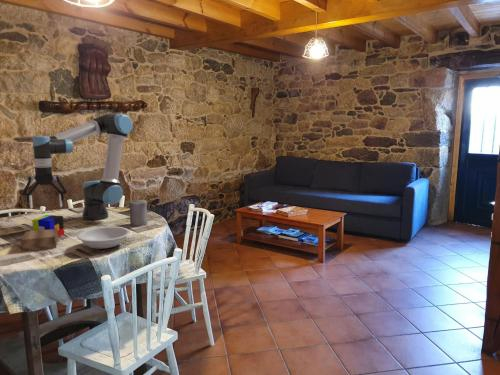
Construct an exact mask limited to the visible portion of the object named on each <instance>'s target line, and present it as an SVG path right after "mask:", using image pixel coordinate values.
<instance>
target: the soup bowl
mask: <svg viewBox="0 0 500 375" xmlns="http://www.w3.org/2000/svg"><path fill="white" fill-rule="evenodd" d="M130 233H131V230H130V229H128V228H127V227H122V226H101V227H99V226H98V227H93V228H89V229H86V230H83V231H80V232H79V233H78V234H76V235H77V236H76V239H77V240H79V241H81V242H82V243H83V244H84V245H85V246H86V247H88V248H92V249H95V250H96V249H98V250H99V249H101V250H102V249H103V250H104V249H109V248H114V247H117V246H119V245H120V244H122V243H123V242H124V241H125V239H126V238H127V236H129V235H130Z"/></svg>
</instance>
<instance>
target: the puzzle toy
mask: <svg viewBox="0 0 500 375" xmlns="http://www.w3.org/2000/svg"><path fill="white" fill-rule="evenodd" d="M31 221H32V229H33V230H32V231H38V230H49V229H57V233H58V238H59V237H60V236H63V235H65V226H64V225H65V224H64V216H63V215H55V214H54V215H53V214H45V215H42V216H38V217H36V218H33V219H31Z"/></svg>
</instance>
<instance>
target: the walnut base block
mask: <svg viewBox="0 0 500 375" xmlns="http://www.w3.org/2000/svg"><path fill="white" fill-rule="evenodd" d="M20 241H21V242H20V243H21V251H22V253H23V251H24V252H32V250H33V251H40V250H49V249H57V246H58V241H59V237H58V233H57V229H49V230H38V231H33V230H29V231H28V230H27V231H25V232H24V234H23V236H22V237H21V239H20Z"/></svg>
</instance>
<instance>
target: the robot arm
mask: <svg viewBox="0 0 500 375" xmlns="http://www.w3.org/2000/svg"><path fill="white" fill-rule="evenodd" d="M133 128H134V125H133V121H132V120H131V117H130V116H128V115H127V114H124V113H106V114H102V115H99V116H98V117H95V118H92V119H90V120H89V121H88V122H86V123H84V124H80V125H78V126H76V127H75V126H74V127H73V128H69V129H67V130H65V131H62V132H59V133H57V134H54V135H52V136H49V135H35V136H32V137H33V138H32V146H33V147H32V148H33V160H34V174H35V175H34V176H32V175H30V176H28V177H27V178H28V180H27V183H26V185H25V187H24V189H23V190H22V196H25V197H26V203H29V209H30V210H32V209H33V208H34V207H33V196H32V195H31V194H32V193H33V192H34V190H35V189H36V188H37V187H38V186H39V185H40V186H48V185H50V186H51V187H52V188H54V190H56V191H57V192H58V196H59V199H58V200H59V201H58V202H59V208H62V207H63V201H64V199H65V197H64V194H67V192H68V189H67V188H66V187H65V185H64V183H63V182H62V181H61V179H60V175H53V169H52V155H61V154H62V155H63V154H71V153H73V151H74V143H76V142H78V141H81V140H84V139H86V138H89V137H91V136H94V135H95V136H99V135H101V134H106V136H107V137H108V142H107V149H106V153H105V154H106V155H105V161H104V169H103V175H102V178H101V179H99V180H90V181H84V182H83V184H82V190H83V191H82V192H83V202H84V206H83V211H82V214H81V217H82V218H81V219H82V220H85V221H99V220H100V221H101V220H104V219H107V218H109V212H108V209H107V207H106V205H115V204H116V205H117V204H118V203H119V202H120V201H121V200H122V198H123V195H124V190H123V188H122V187H121V182H120V180H119V177H120V176H119V175H120V170H121V169H120V168H121V162H122V155H123V148H124V142H125V140H126V139H127V138H128V134H130V133H131V132H132V130H133ZM53 179H54V180H55V181H56V182H57V183H58V185H59V187H58V185H56V184H55V183H54V182H53ZM34 180H35V181H36V183H35V184H34V185H33V186H32V188H31V189H30V190H29V188H30V186H31V184H32V182H33V181H34ZM27 191H28V192H27Z"/></svg>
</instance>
